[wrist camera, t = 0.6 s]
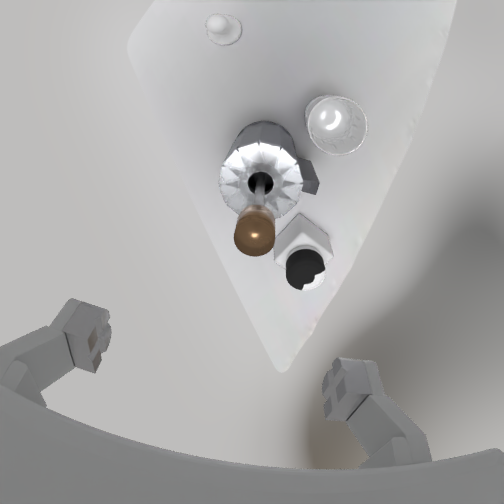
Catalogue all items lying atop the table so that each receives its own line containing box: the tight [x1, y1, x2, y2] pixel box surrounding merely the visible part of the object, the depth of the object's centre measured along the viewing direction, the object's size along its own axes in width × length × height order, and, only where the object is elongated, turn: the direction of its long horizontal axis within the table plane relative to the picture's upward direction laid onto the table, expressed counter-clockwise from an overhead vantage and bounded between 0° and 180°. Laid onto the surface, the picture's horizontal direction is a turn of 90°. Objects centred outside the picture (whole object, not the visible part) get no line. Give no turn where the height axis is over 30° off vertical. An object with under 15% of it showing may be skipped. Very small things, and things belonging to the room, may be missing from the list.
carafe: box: [219, 121, 319, 219], centre depth 42 cm, size 10×12×16 cm
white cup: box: [305, 95, 368, 156], centre depth 41 cm, size 8×8×10 cm
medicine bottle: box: [274, 214, 334, 290], centre depth 52 cm, size 7×7×12 cm
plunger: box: [234, 171, 275, 256], centre depth 33 cm, size 7×7×18 cm
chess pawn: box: [205, 14, 242, 45], centre depth 35 cm, size 5×5×9 cm
